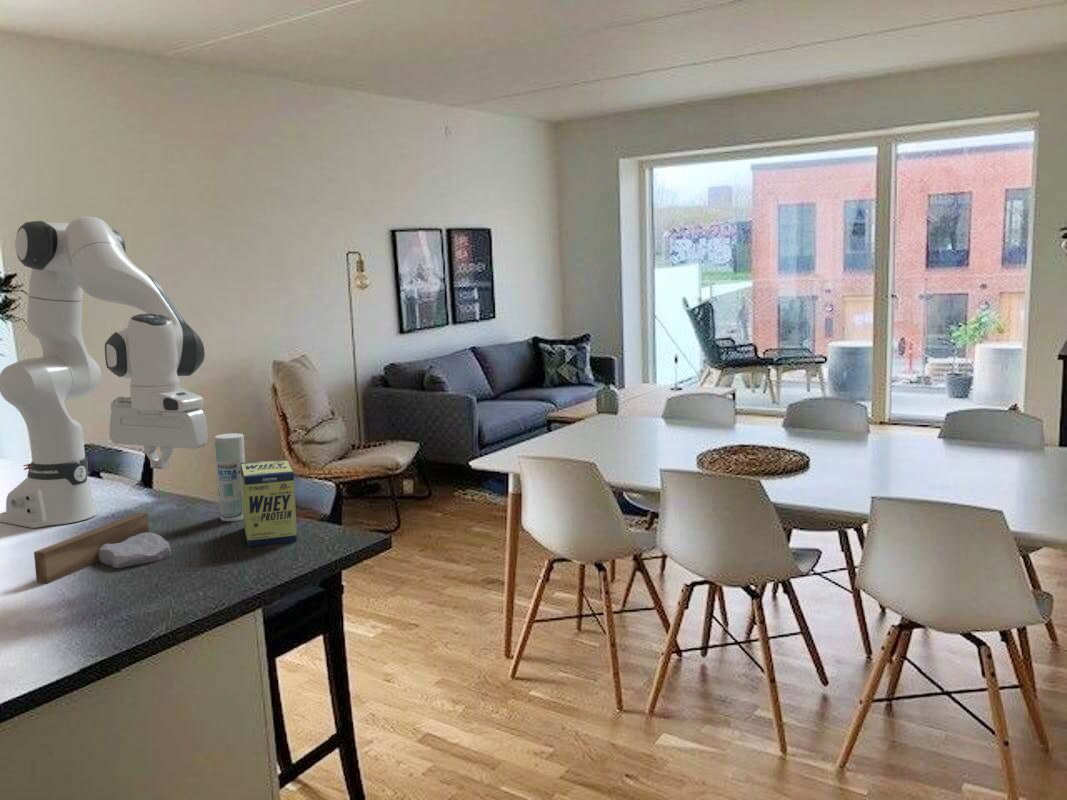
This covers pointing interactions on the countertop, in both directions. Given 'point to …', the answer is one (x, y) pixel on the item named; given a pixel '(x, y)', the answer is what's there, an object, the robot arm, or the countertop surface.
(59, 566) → the walnut board
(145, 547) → the stone block
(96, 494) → the countertop surface
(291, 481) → the protein box
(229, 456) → the spray can
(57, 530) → the countertop surface
